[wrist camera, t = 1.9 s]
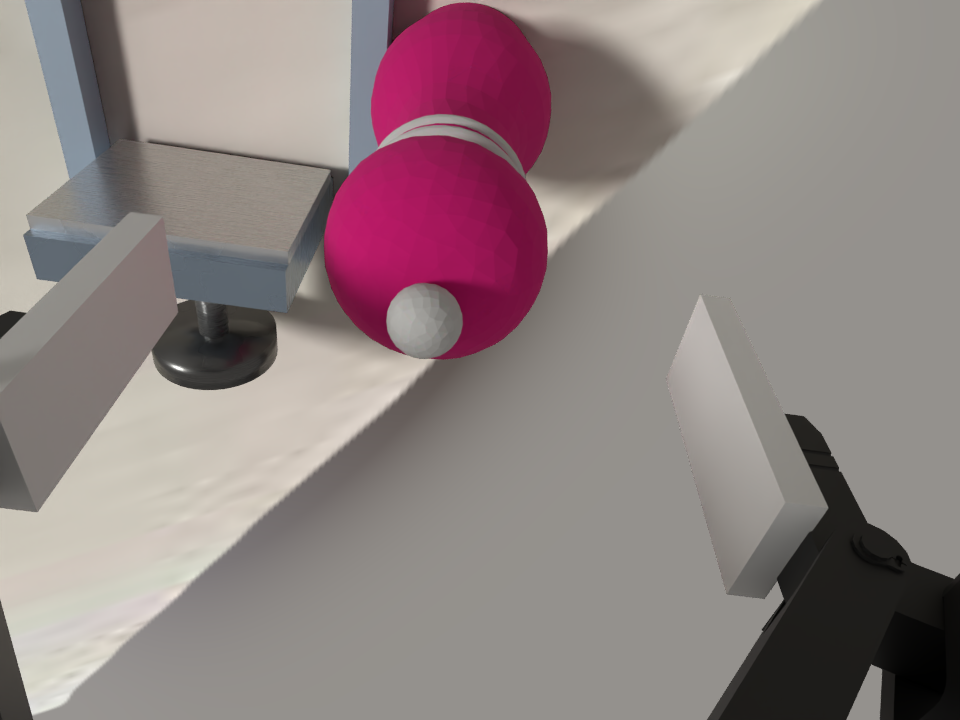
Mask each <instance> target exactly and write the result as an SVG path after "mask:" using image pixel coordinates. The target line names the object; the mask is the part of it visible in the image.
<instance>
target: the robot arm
mask: <svg viewBox="0 0 960 720" xmlns="http://www.w3.org/2000/svg"><path fill="white" fill-rule="evenodd" d="M177 313H178V307H177V301H176V295H175V289H174V283H173V276H172V270H171V264H170V258H169V252H168V245H167V239H166V233H165V227H164V220H163V217H162V216H155V215H148V214H141V213H135V212H129V213H128V214H127V215H126V216H125V217H124V218H123V219H122V220H121V221H120V222H119V223H118V224H117V225H116V226H115V227H114V228H113V229H112V230H111V231H110V232H109V233H108V234H107V235H106V236H105V237H104V238H103V239H102V240H101V241H100V242H99V243H98V244H97V245H96V246H95V247H94V248H93V249H92V250H91V251H90V252H89V253H88V254H86V255H85V256H84V257H83V258H82V259H81V260H80V261H79V262H78V263H77V264H76V265H75V266H74V267H73V268H72V269H71V270H70V271H69V272H68V273H67V274H66V275H65V276H64V277H63V278H62V279H61V280H60V281H59V282H58V283H57V284H56V285H55V286H54V287H53V288H52V289H51V290H50V291H49V292H48V293H47V294H46V295H45V296H44V297H43V298H42V299H41V300H40V301H39V302H38V303H36V304H35V305H34V306H33V307H32V308H31V309H30V310H29V311H28V312H27V313H23V312H16V311H9V312H7V313H5V314H3V315H1V316H0V508H6V509H15V510H23V511H31V512H38V511H39V509H40V508H41V506H42V505H43V504H44V502H45V501H46V499H47V498H48V497H49V495H50V494H51V492H52V491H53V489H54V488H55V487H56V485H57V484H58V482H59V481H60V479H61V478H62V477H63V475H64V474H65V472H66V471H67V470H68V468H69V467H70V465H71V464H72V462H73V461H74V460H75V458H76V457H77V455H78V454H79V452H80V451H81V450H82V448H83V447H84V445H85V444H86V443H87V441H88V440H89V438H90V437H91V435H92V434H93V433H94V431H95V430H96V428H97V427H98V425H99V424H100V423H101V421H102V420H103V418H104V417H105V416H106V414H107V413H108V411H109V410H110V408H111V407H112V406H113V404H114V403H115V401H116V400H117V399H118V397H119V396H120V394H121V393H122V391H123V390H124V389H125V387H126V386H127V384H128V383H129V381H130V380H131V379H132V377H133V376H134V374H135V373H136V372H137V370H138V369H139V367H140V366H141V364H142V363H143V362H144V360H145V359H146V357H147V356H148V354H149V353H150V352H151V350H152V349H153V347H154V346H155V345H156V343H157V342H158V340H159V339H160V337H161V336H162V335H163V333H164V332H165V330H166V329H167V327H168V326H169V325H170V323H171V322H172V320H173V319H174V318H175V316H176V315H177ZM666 380H667V384H668V387H669V391H670V394H671V398H672V402H673V405H674V409H675V412H676V416H677V419H678V423H679V427H680V430H681V434H682V437H683V440H684V444H685V448H686V451H687V455H688V458H689V462H690V466H691V469H692V473H693V476H694V479H695V483H696V487H697V491H698V494H699V498H700V501H701V505H702V508H703V512H704V515H705V519H706V523H707V526H708V530H709V533H710V537H711V540H712V544H713V547H714V551H715V555H716V558H717V562H718V565H719V569H720V572H721V576H722V579H723V583H724V586H725V590H726V594H728V595H738V596H745V597H753V598H762V599H765V597H766V596H767V595H768V593H769V592H770V590H771V589H772V588H773V586H774V585H775V583H776V582H777V581H778V583H779V586H780V589H781V592H782V595H783V597H784V600H783V602H782V603H781V604H780V606H779V607H778V608H777V610H776V611H775V612H774V614H773V615H772V617H771V618H770V619H769V621H768V622H767V623H766V625H765V626H764V627H763V629H762V631H763V632H762V634H761V635H760V637H759V639H758V640H757V642H756V643H755V645H754V646H753V648H752V649H751V651H750V653H749V654H748V656H747V657H746V659H745V661H744V662H743V664H742V665H741V667H740V668H739V670H738V672H737V673H736V675H735V676H734V678H733V679H732V681H731V683H730V684H729V686H728V687H727V689H726V691H725V692H724V694H723V695H722V697H721V698H720V700H719V702H718V703H717V705H716V706H715V708H714V710H713V711H712V713H711V715H710V716H709V717H708V719H707V720H846V719H847V717H848V714H849V712H850V710H851V708H852V706H853V703H854V701H855V699H856V697H857V694H858V692H859V690H860V688H861V686H862V683H863V681H864V679H865V677H866V674H867V672H868V670H869V667H870V666H871V664H872V665H874V666H877V667H879V668H881V669H882V689H881V709H880V720H960V574H959V575H958V576H957V577H956V578H955V579H953V578H950V577H947V576H945V575H942V574H940V573H937V572H934V571H932V570H929V569H926V568H924V567H921V566H919V565H916V564H914V563H912V562H911V561H910V559H909V556H908V554H907V552H906V551H905V550H904V549H903V547H902V546H901V545H900V544H899V543H898V542H897V540H895V539H894V538H893V537H891V536H890V535H889V534H887V533H886V532H885V531H883V530H881V529H879V528H877V527H875V526H873V525H871V524H868V523H867V521H866V519H865V517H864V515H863V514H862V511H861V510H860V508H859V506H858V504H857V502H856V500H855V498H854V496H853V494H852V492H851V490H850V488H849V486H848V484H847V482H846V480H845V479H844V477H843V475H842V473H841V472H839V467H838V465H837V463H836V461H835V459H834V457H833V456H831V451H830V449H829V448H828V446H827V443H826V442H825V440H824V438H823V436H822V434H821V433H820V432H819V431H818V430H817V429H816V428H815V427H814V426H813V425H812V424H811V423H810V422H809V421H808V420H807V419H806V418H805V417H804V416H798V415H790V414H784V412H783V410H782V408H781V406H780V403H779V401H778V399H777V397H776V395H775V393H774V391H773V388H772V386H771V384H770V382H769V380H768V378H767V376H766V373H765V372H764V369H763V367H762V365H761V363H760V361H759V359H758V356H757V354H756V352H755V350H754V348H753V346H752V344H751V342H750V339H749V337H748V335H747V333H746V331H745V329H744V327H743V324H742V322H741V320H740V318H739V316H738V314H737V312H736V310H735V307H734V305H733V303H732V301H731V299H730V298H724V297H717V296H710V295H703V294H700V296H699V299H698V301H697V304H696V306H695V309H694V311H693V314H692V316H691V319H690V321H689V323H688V326H687V329H686V331H685V333H684V336H683V338H682V341H681V343H680V346H679V348H678V351H677V353H676V356H675V358H674V361H673V363H672V365H671V368H670V370H669V373H668V375H667V378H666ZM0 720H33V718H32V714H31V710H30V707H29V703H28V699H27V696H26V692H25V688H24V685H23V681H22V678H21V674H20V670H19V667H18V663H17V659H16V656H15V652H14V648H13V645H12V641H11V637H10V634H9V630H8V627H7V623H6V619H5V616H4V612H3V608H2V605H1V601H0Z"/></svg>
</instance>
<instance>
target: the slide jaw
mask: <svg viewBox="0 0 960 720" xmlns="http://www.w3.org/2000/svg"><path fill="white" fill-rule="evenodd" d="M332 203H333V177H331V170H328V169H321V168H314V167H308V166H301V165H294V164H287V163H281V162H274V161H267V160H261V159H254V158H247V157H240V156H234V155H227V154H220V153H213V152H207V151H200V150H193V149H186V148H180V147H173V146H166V145H159V144H153V143H146V142H139V141H132V140H126V139H120V140H118V141H117V142H116V143H115V144H113V145H112V146H111V147H110V148H108V149H107V150H106V151H105V152H103V153H102V154H101V155H100V156H98V157H97V158H96V159H95V160H94V161H92V162H91V163H90V164H89V165H87V166H86V167H85V168H84V169H82V170H81V171H80V172H79V173H77V174H76V175H75V176H74V177H73V178H71V179H70V180H69V181H68V182H66V183H65V184H64V185H63V186H61V187H60V188H59V189H58V190H56V191H55V192H54V193H53V194H51V195H50V196H49V197H48V198H47V199H45V200H44V201H43V202H42V203H40V204H39V205H38V206H37V207H35V208H34V209H33V210H32V211H30V212H29V213H28V214H27V215H26V216H27V219H28V222H29V226H30V230H29V231H27V232H26V233H25V234H24V235H23V236H24V239H25V242H26V245H27V249H28V252H29V255H30V258H31V261H32V264H33V268H34V271H35V274H36V277H37V279H40V280H48V281H55V282H59V281H60V280H61V279H62V278H63V277H64V276H65V275H66V274H67V273H68V272H69V271H70V270H71V269H72V268H73V267H74V266H75V265H76V264H77V263H78V262H79V261H80V260H81V259H82V258H83V257H84V256H85V255H86V254H88V253H89V252H90V251H91V250H92V249H93V248H94V247H95V246H96V245H97V244H98V243H99V242H100V241H101V240H102V239H103V238H104V237H105V236H106V235H107V234H108V233H109V232H110V231H111V230H112V229H113V228H114V227H115V226H116V225H117V224H118V223H119V222H120V221H121V220H122V219H123V218H124V217H125V216H126V215H127V214H128V213H129V212H135V213H141V214H148V215H155V216H162V217H163V220H164V227H165V233H166V239H167V245H168V252H169V258H170V264H171V270H172V276H173V283H174V289H175V295H176V298H181V299H188V301H185V302H182V303H179V304H177V307H178V313H177V315H176V316H175V318H174V319H173V320H172V322H171V323H170V325H169V326H168V327H167V329H166V330H165V332H164V333H163V335H162V336H161V337H160V339H159V340H158V342H157V343H156V345H155V346H154V347H153V349H152V355H153V360H154V364H155V367H156V368H157V370H158V372H159V373H160V374H161V375H162V376H163V377H165V378H166V379H167V380H169V381H171V382H173V383H175V384H177V385H180V386H183V387H187V388H192V389H199V390H218V389H226V388H231V387H235V386H239V385H242V384H245V383H247V382H250V381H252V380H254V379H256V378H257V377H259V376H260V375H262V374H263V373H265V372H266V371H267V370H268V369H269V368H270V367H271V365H272V364H273V363H274V361H275V359H276V356H277V350H278V348H277V331H276V323H275V320H274V318H273V316H272V315H271V314H270V313H269V311H276V312H284V313H287V312H288V310H289V308H290V306H291V303H292V301H293V299H294V297H295V295H296V293H297V290H298V288H299V286H300V284H301V282H302V279H303V277H304V275H305V273H306V271H307V269H308V266H309V264H310V262H311V260H312V258H313V255H314V253H315V251H316V249H317V247H318V245H319V242H320V240H321V238H322V236H323V234H324V231H325V229H326V224H327V219H328V215H329V211H330V209H331V206H332ZM267 310H269V311H267Z"/></svg>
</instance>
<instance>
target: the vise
mask: <svg viewBox="0 0 960 720" xmlns="http://www.w3.org/2000/svg"><path fill="white" fill-rule="evenodd" d="M25 3H26V7H27V11H28V15H29V19H30V23H31V27H32V31H33V35H34V39H35V43H36V47H37V51H38V55H39V59H40V63H41V67H42V71H43V75H44V79H45V83H46V87H47V90H48V94H49V98H50V102H51V106H52V110H53V114H54V118H55V122H56V126H57V130H58V134H59V138H60V142H61V146H62V150H63V154H64V158H65V162H66V166H67V170H68V174H69V178H70V179H71V178H73V177H74V176H75V175H76V174H77V173H79V172H80V171H81V170H82V169H84V168H85V167H86V166H87V165H89V164H90V163H91V162H92V161H94V160H95V159H96V158H97V157H98V156H100V155H101V154H102V153H103V152H105V151H106V150H107V149H108V148H110V142H109V137H108V132H107V128H106V123H105V118H104V113H103V108H102V103H101V98H100V94H99V89H98V84H97V79H96V74H95V69H94V64H93V60H92V55H91V50H90V45H89V40H88V35H87V30H86V26H85V21H84V16H83V11H82V6H81V1H80V0H25ZM393 8H394V0H352V37H351V86H350V135H349V175H350V174H351V172H352V171H353V170H354V169H355V168H356V167H357V165H358V164H359V163H360V162H361V161H362V160H364V159H365V158H367V157H368V156H369V155H371V154H372V153H374V152H375V151H376V150H377V148H378V144H377V141H376V137H375V134H374V130H373V126H372V118H371V97H372V92H373V87H374V82H375V76H376V73H377V71H378V68H379V65H380V62H381V60H382V58H383V56H384V54H385V53H386V51H387V49H388V48H389V46H390V45H391V44H392V26H393Z"/></svg>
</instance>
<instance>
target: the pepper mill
mask: <svg viewBox="0 0 960 720" xmlns="http://www.w3.org/2000/svg"><path fill="white" fill-rule="evenodd" d="M550 116H551V92H550V87H549V82H548V77H547V75H546V72H545V70H544V67H543V65H542V62H541V60H540V58H539V57H538V55H537V54H536V52H535V51H534V49H533V48H532V46H531V45H530V43H529V42H528V41H527V40H526V38H525V36H524V35H523V33H522V32H521V30H520V29H519V28H518V27H517V26H516V25H515V23H514V22H512V21H511V20H510V19H509V18H508V17H507V16H505V15H504V14H502V13H500V12H499V11H497V10H495V9H493V8H490V7H488V6H485V5H481V4H476V3H455V4H450V5H447V6H443V7H440V8H438V9H436V10H434V11H432V12H431V13H429V14H428V15H426V16H425V17H424V18H422V19H420V20H419V21H417V22H416V23H414V24H412V25H411V26H409V27H408V28H406V29H405V30H404V31H403V32H402V33H401V34H400V35H399V36H398V37H397V38H396V39H395V40H394V41H393V43H392V44H391V45H390V46H389V48H388V49H387V51H386V53H385V54H384V56H383V58H382V60H381V62H380V65H379V68H378V71H377V73H376V76H375V82H374V87H373V92H372V97H371V118H372V126H373V130H374V134H375V137H376V141H377V144H378V148H377V150H376V151H375V152H374V153H372V154H371V155H369V156H368V157H367V158H365V159H364V160H362V161H361V162H360V163H359V164H358V165H357V167H356V168H355V169H354V170H353V171H352V172H351V174H350V175H349V176H348V177H347V178H346V180H345V181H344V182H343V184H342V185H341V187H340V188H339V190H338V192H337V193H336V195H335V198H334V201H333V203H332V206H331V209H330V211H329V215H328V219H327V224H326V229H325V235H324V257H325V267H326V271H327V274H328V278H329V282H330V285H331V288H332V290H333V293H334V295H335V297H336V299H337V301H338V303H339V304H340V306H341V307H342V309H343V310H344V312H345V313H346V314H347V315H348V317H349V318H350V319H351V320H352V322H353V323H354V324H355V325H356V326H357V327H358V328H359V329H360V330H362V331H363V332H364V333H365V334H366V335H367V336H369V337H370V338H371V339H372V340H374V341H376V342H378V343H380V344H381V345H383V346H385V347H387V348H389V349H391V350H394V351H397V352H399V353H402V354H405V355H409V356H412V357H415V358H419V359H453V358H460V357H464V356H467V355H471V354H474V353H477V352H479V351H481V350H483V349H485V348H488V347H490V346H492V345H495V344H496V343H498V342H499V341H501V340H502V339H504V338H505V337H506V336H507V335H508V334H509V333H510V332H512V330H513V329H515V328H516V327H517V326H518V325H519V323H520V322H521V321H522V320H523V318H524V317H525V316H526V314H527V313H528V312H529V310H530V308H531V307H532V305H533V304H534V302H535V300H536V298H537V295H538V294H539V291H540V289H541V286H542V282H543V279H544V275H545V272H546V266H547V254H548V247H547V228H546V224H545V220H544V216H543V213H542V211H541V208H540V206H539V203H538V201H537V198H536V196H535V193H534V192H533V190H532V189H531V187H530V186H529V184H528V183H527V181H526V177H525V175H526V173H527V172H528V171H529V170H530V169H531V167H532V166H533V165H534V163H535V161H536V160H537V158H538V157H539V155H540V153H541V151H542V149H543V146H544V143H545V140H546V138H547V134H548V129H549V124H550Z"/></svg>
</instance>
